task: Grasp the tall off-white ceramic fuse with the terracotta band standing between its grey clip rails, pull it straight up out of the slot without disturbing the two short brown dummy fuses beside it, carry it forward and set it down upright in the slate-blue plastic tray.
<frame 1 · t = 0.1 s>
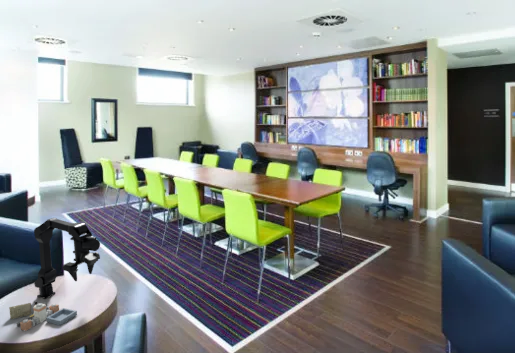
hand: (83, 277, 188), 15 cm above the table, fingers open, 9 cm apart
marked fuse: (41, 320, 175), on the table
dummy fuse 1: (26, 328, 168), on the table
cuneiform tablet: (24, 317, 179), on the table, touching fuse block
fuse block: (41, 320, 175), on the table
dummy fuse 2: (54, 312, 182), on the table
tray: (62, 318, 176), on the table
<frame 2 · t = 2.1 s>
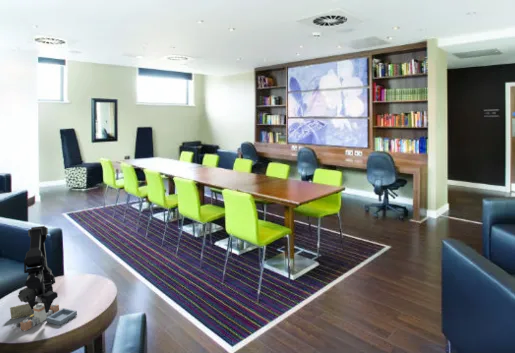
hand: (40, 310, 174), 5 cm above the table, fingers open, 9 cm apart
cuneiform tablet: (25, 317, 179), on the table
everything else where it was.
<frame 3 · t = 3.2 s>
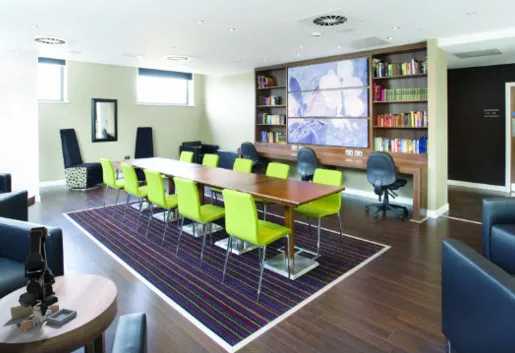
hand: (40, 315, 175), 3 cm above the table, fingers closed on marked fuse, 4 cm apart
marked fuse: (41, 320, 175), on the table, touching gripper
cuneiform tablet: (26, 317, 179), on the table, touching fuse block
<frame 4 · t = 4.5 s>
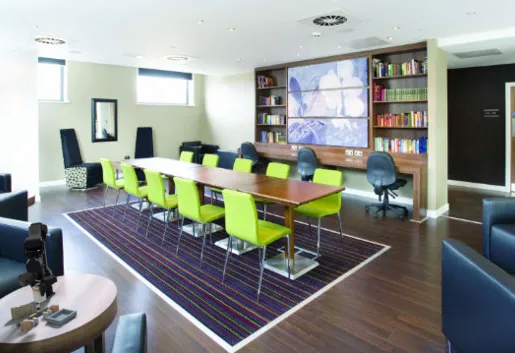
hand: (39, 295, 173), 13 cm above the table, fingers closed on marked fuse, 4 cm apart
marked fuse: (40, 300, 173), point 10 cm above the table, touching gripper
everything else where it was.
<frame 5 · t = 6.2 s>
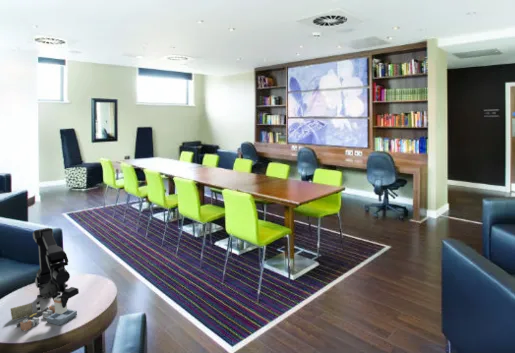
hand: (61, 306, 175), 6 cm above the table, fingers closed on marked fuse, 4 cm apart
marked fuse: (61, 311, 176), point 3 cm above the table, touching gripper
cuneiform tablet: (26, 317, 179), on the table
when the fingers open (4 cm above the table, at t = 6.9 s): marked fuse drops 1 cm, resting on tray.
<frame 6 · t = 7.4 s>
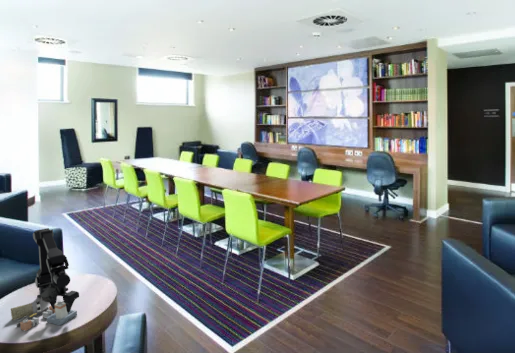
hand: (61, 310, 175), 4 cm above the table, fingers open, 9 cm apart
marked fuse: (62, 317, 176), point 1 cm above the table, touching tray
everything else where it was.
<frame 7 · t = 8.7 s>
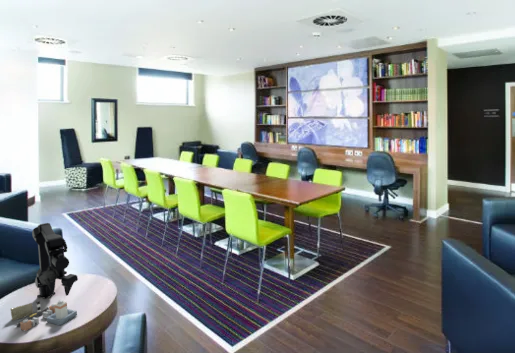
hand: (59, 293, 175), 12 cm above the table, fingers open, 9 cm apart
nothing on the table moved.
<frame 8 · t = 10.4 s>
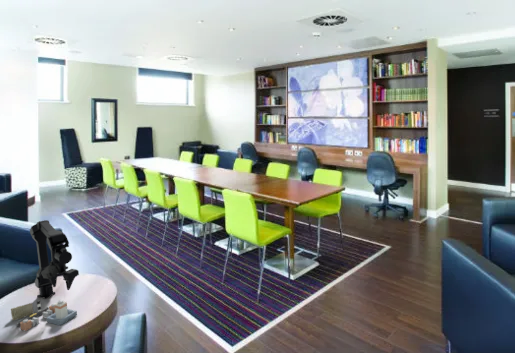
hand: (61, 288, 180), 13 cm above the table, fingers open, 9 cm apart
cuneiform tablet: (27, 317, 179), on the table, touching fuse block
everything else where it was.
at the end: marked fuse inside the target area on the tray (0.0 cm from its centre), point 0.6 cm above the tray's base; marked fuse tilted 0°; the gripper is holding nothing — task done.
